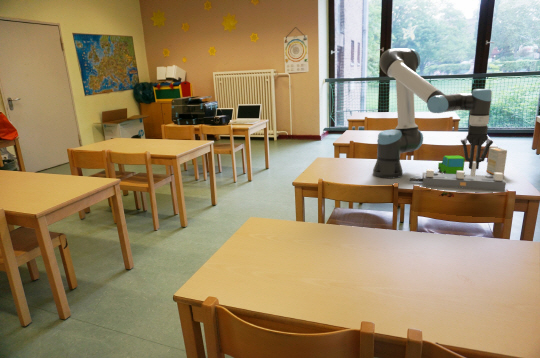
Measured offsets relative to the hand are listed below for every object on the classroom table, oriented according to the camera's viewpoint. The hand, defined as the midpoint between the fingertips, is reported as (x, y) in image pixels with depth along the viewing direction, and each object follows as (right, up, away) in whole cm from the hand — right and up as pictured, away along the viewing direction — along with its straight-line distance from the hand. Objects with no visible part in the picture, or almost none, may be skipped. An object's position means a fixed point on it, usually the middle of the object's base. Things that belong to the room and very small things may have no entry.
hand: (472, 175), depth 169 cm
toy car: (+1, +1, +25) cm, 25 cm away
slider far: (+10, -2, -3) cm, 10 cm away
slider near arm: (-17, -1, +7) cm, 18 cm away
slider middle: (-5, -1, +3) cm, 5 cm away
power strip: (-5, -4, +6) cm, 9 cm away
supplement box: (+24, +1, +22) cm, 32 cm away
